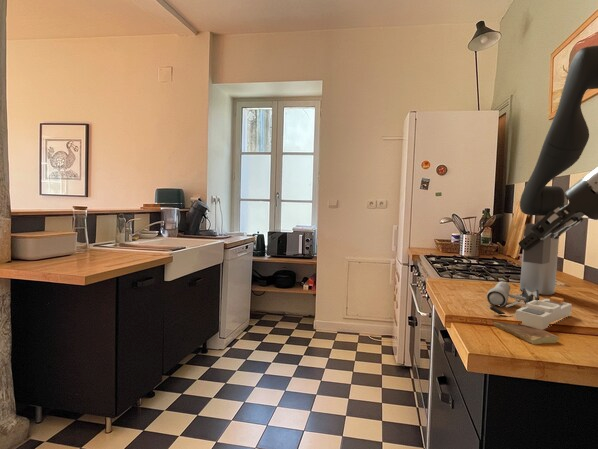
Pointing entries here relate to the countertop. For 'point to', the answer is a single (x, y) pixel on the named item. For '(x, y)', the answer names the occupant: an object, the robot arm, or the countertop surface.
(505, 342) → the countertop surface
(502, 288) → the clip-on lamp
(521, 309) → the power strip
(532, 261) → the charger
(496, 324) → the shard
